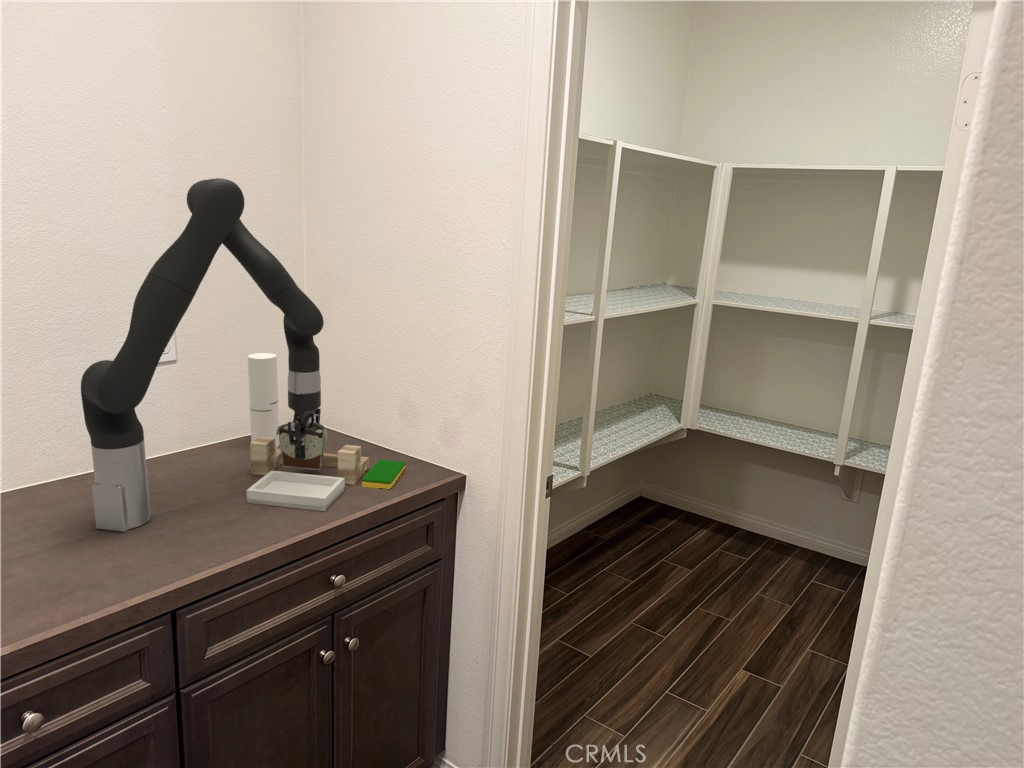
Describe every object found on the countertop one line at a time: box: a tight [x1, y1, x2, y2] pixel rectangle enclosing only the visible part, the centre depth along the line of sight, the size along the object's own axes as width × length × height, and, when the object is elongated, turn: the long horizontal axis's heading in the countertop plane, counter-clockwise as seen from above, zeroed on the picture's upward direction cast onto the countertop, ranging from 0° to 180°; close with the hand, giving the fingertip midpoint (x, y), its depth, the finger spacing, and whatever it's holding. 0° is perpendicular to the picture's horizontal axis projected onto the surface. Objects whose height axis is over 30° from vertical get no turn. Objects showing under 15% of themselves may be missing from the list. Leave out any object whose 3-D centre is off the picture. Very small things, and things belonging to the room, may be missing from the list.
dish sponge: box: [361, 459, 407, 490], centre depth 172 cm, size 7×14×2 cm, turn 173°
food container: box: [276, 422, 329, 471], centre depth 169 cm, size 12×6×10 cm, turn 84°
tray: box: [246, 470, 346, 512], centre depth 158 cm, size 12×18×3 cm, turn 83°
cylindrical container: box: [247, 352, 280, 448], centre depth 186 cm, size 7×7×25 cm
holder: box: [249, 437, 370, 486], centre depth 172 cm, size 11×26×8 cm, turn 83°
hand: (305, 455), depth 169 cm, fingers closed on food container, 5 cm apart
